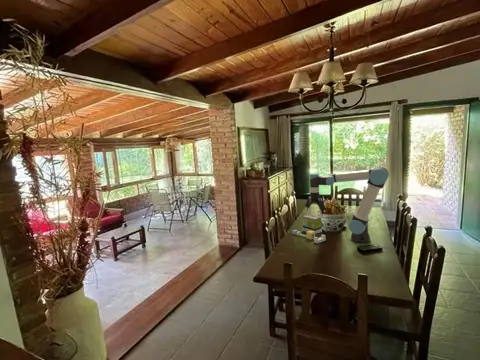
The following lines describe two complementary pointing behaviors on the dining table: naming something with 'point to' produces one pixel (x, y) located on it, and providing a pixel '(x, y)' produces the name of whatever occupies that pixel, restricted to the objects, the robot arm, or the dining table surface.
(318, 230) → the tea box
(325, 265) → the dining table surface
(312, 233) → the sleeve
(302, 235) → the cord
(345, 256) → the dining table surface
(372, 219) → the dining table surface
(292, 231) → the connector
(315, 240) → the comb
